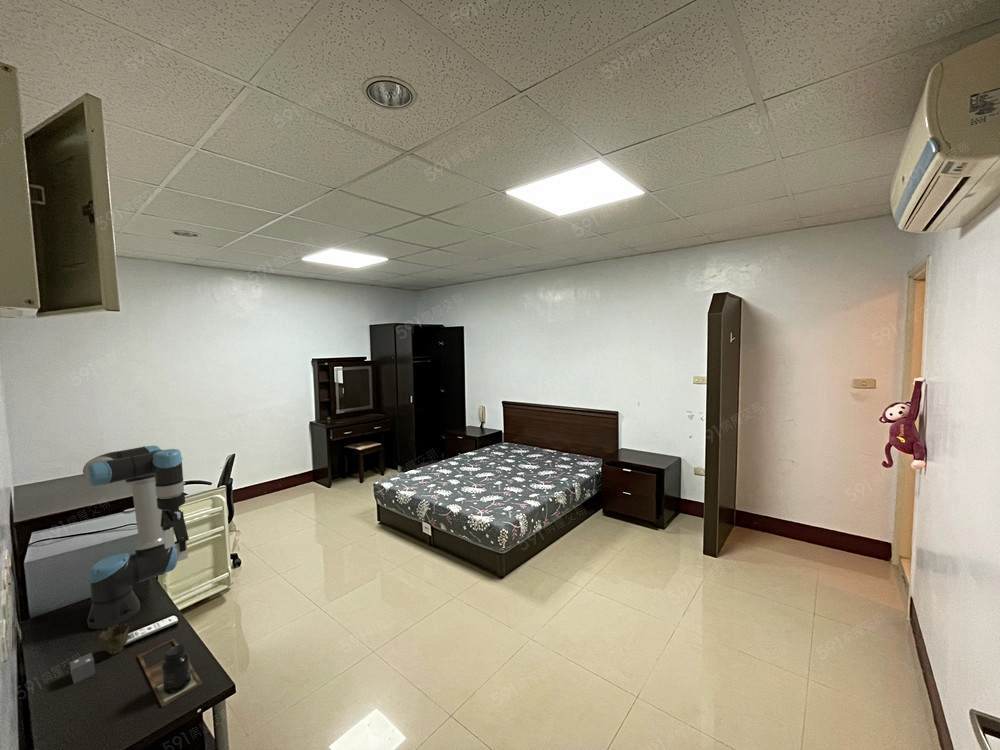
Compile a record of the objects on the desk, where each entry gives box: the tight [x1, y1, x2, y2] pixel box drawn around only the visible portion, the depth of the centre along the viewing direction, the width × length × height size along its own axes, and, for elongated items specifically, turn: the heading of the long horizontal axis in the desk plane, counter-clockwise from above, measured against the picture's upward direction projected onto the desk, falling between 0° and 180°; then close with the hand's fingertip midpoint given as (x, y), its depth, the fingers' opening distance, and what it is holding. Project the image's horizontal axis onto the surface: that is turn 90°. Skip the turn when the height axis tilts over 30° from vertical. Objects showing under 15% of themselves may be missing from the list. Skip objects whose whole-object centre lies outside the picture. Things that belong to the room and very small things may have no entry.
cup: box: [99, 623, 130, 655], centre depth 142 cm, size 8×7×8 cm
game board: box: [137, 638, 203, 708], centre depth 135 cm, size 31×10×1 cm, turn 52°
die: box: [69, 652, 96, 684], centre depth 133 cm, size 5×5×5 cm
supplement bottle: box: [162, 644, 191, 694], centre depth 128 cm, size 7×7×12 cm
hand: (176, 553), depth 142 cm, fingers open, 13 cm apart
